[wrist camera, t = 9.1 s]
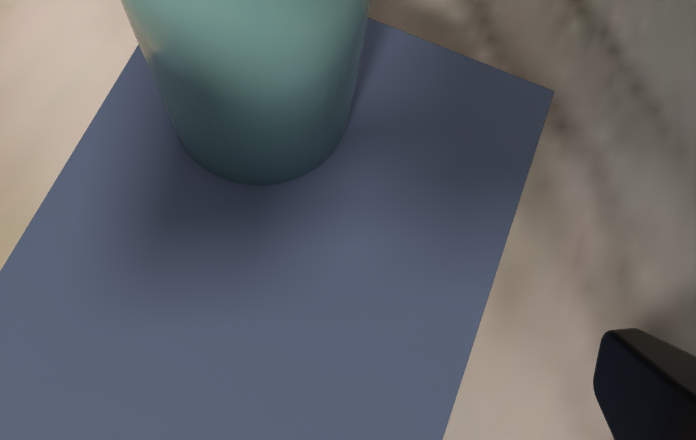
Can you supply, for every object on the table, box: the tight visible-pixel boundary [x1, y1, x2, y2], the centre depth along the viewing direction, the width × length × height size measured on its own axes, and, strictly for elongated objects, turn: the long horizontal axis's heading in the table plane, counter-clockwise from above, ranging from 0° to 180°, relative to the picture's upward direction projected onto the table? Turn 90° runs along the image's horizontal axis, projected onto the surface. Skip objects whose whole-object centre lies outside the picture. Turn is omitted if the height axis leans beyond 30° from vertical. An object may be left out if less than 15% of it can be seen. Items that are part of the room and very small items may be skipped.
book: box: [0, 18, 554, 440], centre depth 18 cm, size 12×16×3 cm
